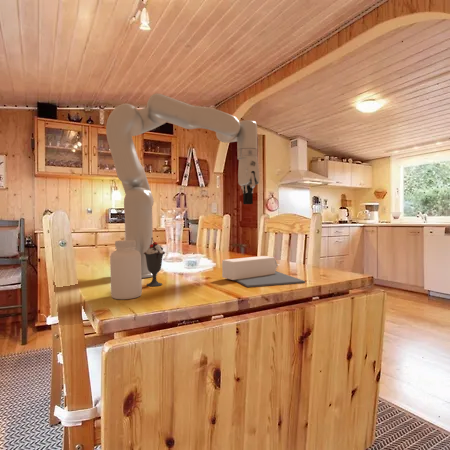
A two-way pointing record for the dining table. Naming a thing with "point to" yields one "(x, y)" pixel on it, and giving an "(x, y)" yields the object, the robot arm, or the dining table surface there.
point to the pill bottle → (125, 270)
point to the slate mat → (269, 280)
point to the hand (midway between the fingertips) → (248, 204)
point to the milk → (248, 267)
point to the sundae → (154, 261)
